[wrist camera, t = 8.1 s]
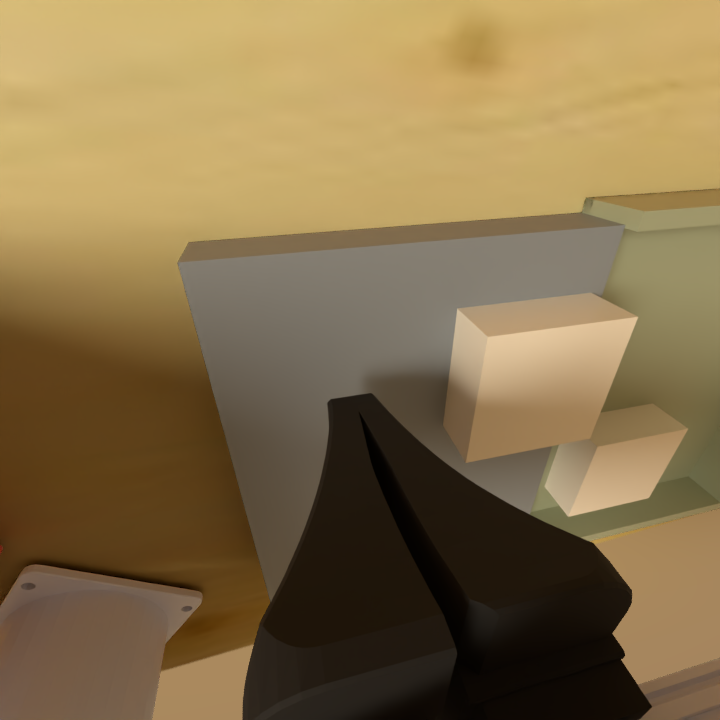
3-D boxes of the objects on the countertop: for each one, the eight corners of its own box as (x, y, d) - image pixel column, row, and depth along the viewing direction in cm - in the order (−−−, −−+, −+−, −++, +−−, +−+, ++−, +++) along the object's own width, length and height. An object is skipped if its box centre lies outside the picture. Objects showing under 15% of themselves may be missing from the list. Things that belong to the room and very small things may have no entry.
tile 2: (544, 486, 22) (568, 516, 20) (568, 418, 19) (597, 446, 18) (620, 470, 23) (648, 498, 21) (652, 403, 20) (688, 428, 18)
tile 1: (442, 425, 15) (465, 462, 14) (457, 308, 13) (487, 337, 11) (555, 405, 16) (590, 438, 14) (591, 292, 13) (638, 316, 12)
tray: (499, 518, 23) (523, 557, 21) (585, 197, 14) (644, 211, 12) (686, 476, 26) (724, 507, 24) (869, 178, 16) (960, 186, 14)
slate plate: (269, 565, 21) (270, 604, 19) (188, 242, 12) (177, 262, 10) (500, 513, 23) (520, 543, 21) (581, 212, 14) (625, 224, 12)
